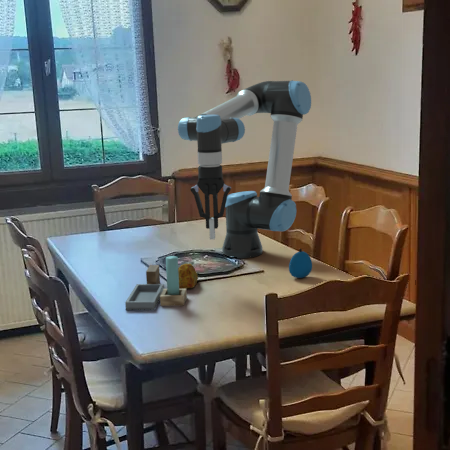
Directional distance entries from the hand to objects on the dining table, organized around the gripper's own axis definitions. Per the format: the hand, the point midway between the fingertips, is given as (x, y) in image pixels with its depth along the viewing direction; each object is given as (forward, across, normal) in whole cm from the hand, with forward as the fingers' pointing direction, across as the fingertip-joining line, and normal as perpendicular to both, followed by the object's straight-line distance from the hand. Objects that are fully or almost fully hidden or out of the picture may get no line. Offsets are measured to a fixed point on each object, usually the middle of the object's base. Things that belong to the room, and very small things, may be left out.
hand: (212, 238), depth 222 cm
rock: (+16, +9, -1) cm, 19 cm away
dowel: (+16, +11, +15) cm, 24 cm away
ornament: (+16, -28, -8) cm, 33 cm away
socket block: (+16, +11, +15) cm, 24 cm away
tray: (+16, +20, +14) cm, 29 cm away
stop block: (+16, +20, 0) cm, 26 cm away
